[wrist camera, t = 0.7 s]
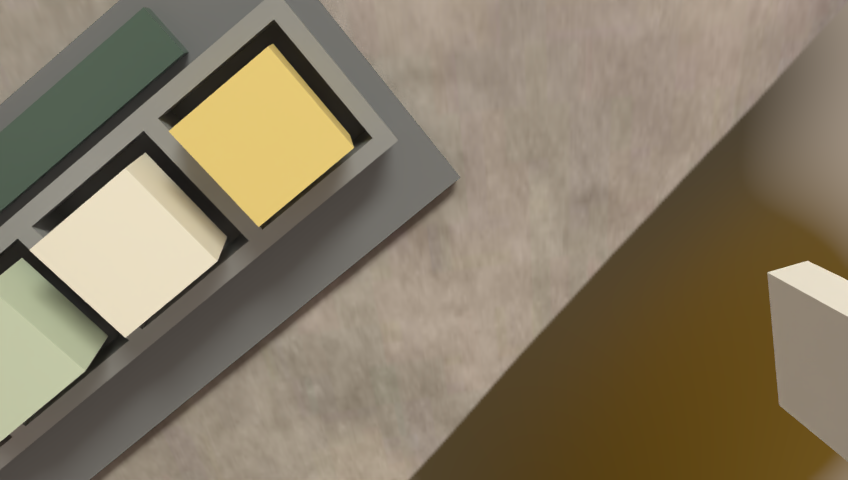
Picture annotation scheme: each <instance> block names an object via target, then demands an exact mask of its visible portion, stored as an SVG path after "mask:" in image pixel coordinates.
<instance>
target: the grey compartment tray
mask: <svg viewBox="0 0 848 480" xmlns="http://www.w3.org/2000/svg"><path fill="white" fill-rule="evenodd" d="M271 44H274V45H275V46H276V48H277V49H278V50H279V51H280V52H281V54H282V55H283V56H284V57H285V58H286V60H287V61H288V62H289V63H290V64H291V65H292V67H293V68H294V69H295V70H296V71H297V73H298V74H299V75H300V76H301V77H302V79H303V80H304V81H305V82H306V83H307V84H308V86H309V87H310V88H311V89H312V90H313V92H314V93H315V94H316V95H317V96H318V98H319V99H320V100H321V101H322V102H323V103H324V105H325V106H326V107H327V108H328V109H329V111H330V112H331V113H332V114H333V115H334V117H335V118H336V119H337V120H338V121H339V122H340V124H341V125H342V126H343V127H344V128H345V130H346V131H347V132H348V133H349V134H350V137H351V140H352V143H353V146H354V148H353V149H352V150H351V151H350V152H349V153H347V154H346V155H345V156H344V157H343V158H341V159H340V160H339V161H338V162H336V163H335V164H334V165H333V166H332V167H330V168H329V169H328V170H327V171H326V172H324V173H323V174H322V175H321V176H320V177H318V178H317V179H316V180H315V181H314V182H312V183H311V184H310V185H309V186H308V187H306V188H305V189H304V190H303V191H302V192H300V193H299V194H298V195H297V196H296V197H294V198H293V199H292V200H291V201H290V202H288V203H287V204H286V205H285V206H284V207H282V208H281V209H280V210H279V211H277V212H276V213H275V214H274V215H273V216H271V217H270V218H269V219H268V220H267V221H265V222H264V223H263V224H262V225H261V226H259V227H258V226H257V225H256V224H255V223H254V222H253V220H252V219H251V218H250V217H249V216H248V215H247V214H246V213H245V212H244V211H243V210H242V209H241V208H240V207H239V206H238V205H237V204H236V202H235V201H234V200H233V199H232V198H231V197H230V196H229V195H228V194H227V193H226V192H225V191H224V190H223V189H222V188H221V187H220V185H219V184H218V183H217V182H216V181H215V180H214V179H213V178H212V177H211V176H210V175H209V174H208V173H207V172H206V171H205V170H204V169H203V167H202V166H201V165H200V164H199V163H198V162H197V161H196V160H195V159H194V158H193V157H192V156H191V155H190V154H189V153H188V152H187V150H186V149H185V148H184V147H183V146H182V145H181V144H180V143H179V142H178V141H177V140H176V139H175V138H174V137H173V136H172V135H171V134H170V132H169V130H170V129H172V128H173V127H174V126H175V125H176V124H178V123H179V122H180V121H181V120H182V119H183V118H185V117H186V116H187V115H188V114H189V113H190V112H192V111H193V110H194V109H195V108H196V107H197V106H199V105H200V104H201V103H202V102H203V101H204V100H206V99H207V98H208V97H209V96H210V95H212V94H213V93H214V92H215V91H216V90H217V89H219V88H220V87H221V86H222V85H223V84H224V83H226V82H227V81H228V80H229V79H230V78H231V77H233V76H234V75H235V74H236V73H237V72H238V71H240V70H241V69H242V68H243V67H244V66H246V65H247V64H248V63H249V62H250V61H251V60H253V59H254V58H255V57H256V56H257V55H258V54H260V53H261V52H262V51H263V50H264V49H265V48H267V47H268V46H270V45H271ZM145 152H146V153H147V155H148V156H149V157H150V158H151V159H152V160H153V161H154V162H155V163H156V164H157V165H158V166H159V167H160V168H161V169H162V170H163V171H164V172H165V173H166V174H167V175H168V176H169V177H170V178H171V179H172V180H173V181H174V182H175V183H176V184H177V186H178V187H179V188H180V189H181V190H182V191H183V192H184V193H185V194H186V195H187V196H188V197H189V198H190V199H191V200H192V201H193V202H194V203H195V204H196V205H197V206H198V207H199V208H200V209H201V210H202V211H203V212H204V213H205V214H206V216H207V217H208V218H209V219H210V220H211V221H212V222H213V223H214V224H215V225H216V226H217V227H218V228H219V229H220V230H221V231H222V232H223V233H224V234H225V235H226V236H227V239H226V241H225V244H224V246H223V249H222V251H221V254H220V256H219V259H218V261H217V262H216V263H215V264H214V265H212V266H211V267H210V268H209V269H208V270H206V271H205V272H204V273H203V274H202V275H200V276H199V277H198V278H197V279H196V280H194V281H193V282H192V283H191V284H190V285H188V286H187V287H186V288H185V289H184V290H182V291H181V292H180V293H179V294H178V295H176V296H175V297H174V298H173V299H172V300H170V301H169V302H168V303H167V304H165V305H164V306H163V307H162V308H161V309H159V310H158V311H157V312H156V313H155V314H153V315H152V316H151V317H150V318H149V319H147V320H146V321H145V322H144V323H143V324H141V325H140V326H139V327H138V328H137V329H135V330H134V331H133V332H132V333H131V334H129V335H128V336H127V337H126V338H125V337H124V336H123V335H122V334H120V333H119V332H118V331H117V330H116V329H115V328H114V327H113V326H112V325H111V324H110V323H108V322H107V321H106V320H105V319H104V318H103V317H102V316H101V315H100V314H99V313H97V312H96V311H95V310H94V309H93V308H92V307H91V306H90V305H89V304H88V303H87V302H85V301H84V300H83V299H82V298H81V297H80V296H79V295H78V294H77V293H76V292H74V291H73V290H72V289H71V288H70V287H69V286H68V285H67V284H66V283H65V282H64V281H62V280H61V279H60V278H59V277H58V276H57V275H56V274H55V273H54V272H53V271H52V270H50V269H49V268H48V267H47V266H46V265H45V264H44V263H43V262H42V261H41V260H39V259H38V258H37V257H36V256H35V255H34V254H33V253H32V252H31V251H30V249H31V248H32V247H33V246H34V245H36V244H37V243H38V242H39V241H40V240H41V239H43V238H44V237H45V236H46V235H47V234H49V233H50V232H51V231H52V230H53V229H54V228H56V227H57V226H58V225H59V224H60V223H61V222H63V221H64V220H65V219H66V218H67V217H68V216H70V215H71V214H72V213H73V212H74V211H75V210H77V209H78V208H79V207H80V206H81V205H83V204H84V203H85V202H86V201H87V200H88V199H90V198H91V197H92V196H93V195H94V194H95V193H97V192H98V191H99V190H100V189H101V188H102V187H104V186H105V185H106V184H107V183H108V182H109V181H111V180H112V179H113V178H114V177H115V176H117V175H118V174H119V173H120V172H121V171H122V170H124V169H125V168H126V167H127V166H129V165H130V164H131V163H132V162H134V161H135V160H136V159H138V158H139V157H140V156H142V155H143V154H144V153H145ZM459 178H460V176H459V175H458V174H457V173H456V171H455V170H454V169H453V168H452V166H451V165H450V164H449V163H448V161H447V160H446V159H445V158H444V156H443V155H442V154H441V153H440V151H439V150H438V149H437V148H436V146H435V145H434V144H433V143H432V141H431V140H430V139H429V138H428V136H427V135H426V134H425V133H424V131H423V130H422V129H421V128H420V126H419V125H418V124H417V123H416V121H415V120H414V119H413V118H412V116H411V115H410V114H409V113H408V111H407V110H406V109H405V108H404V106H403V105H402V104H401V103H400V101H399V100H398V99H397V98H396V96H395V95H394V94H393V92H392V91H391V90H390V89H389V87H388V86H387V85H386V84H385V82H384V81H383V80H382V79H381V77H380V76H379V75H378V74H377V72H376V71H375V70H374V69H373V67H372V66H371V65H370V64H369V62H368V61H367V60H366V59H365V57H364V56H363V55H362V54H361V52H360V51H359V50H358V49H357V47H356V46H355V45H354V44H353V42H352V41H351V40H350V39H349V37H348V36H347V35H346V34H345V32H344V31H343V30H342V29H341V27H340V26H339V25H338V24H337V22H336V21H335V20H334V19H333V17H332V16H331V15H330V14H329V12H328V11H327V10H326V9H325V7H324V6H323V5H322V4H321V2H320V1H319V0H119V1H118V2H117V3H116V4H115V5H114V6H113V7H111V8H110V9H109V10H108V11H107V12H106V13H105V14H103V15H102V16H101V17H100V18H99V19H98V20H97V21H95V22H94V23H93V24H92V25H91V26H90V27H89V28H87V29H86V30H85V31H84V32H83V33H82V34H81V35H79V36H78V37H77V38H76V39H75V40H74V41H73V42H71V43H70V44H69V45H68V46H67V47H66V48H65V49H63V50H62V51H61V52H60V53H59V54H58V55H57V56H55V57H54V58H53V59H52V60H51V61H50V62H49V63H47V64H46V65H45V66H44V67H43V68H42V69H41V70H39V71H38V72H37V73H36V74H35V75H34V76H33V77H31V78H30V79H29V80H28V81H27V82H26V83H25V84H23V85H22V86H21V87H20V88H19V89H18V90H17V91H15V92H14V93H13V94H12V95H11V96H10V97H9V98H7V99H6V100H5V101H4V102H3V103H2V104H1V105H0V275H1V274H2V273H4V272H5V271H6V270H7V269H9V268H10V267H11V266H12V265H14V264H15V263H16V262H17V261H19V260H20V259H21V258H23V259H24V260H25V261H26V262H27V263H28V264H30V265H31V266H32V267H33V268H34V269H35V270H36V271H37V272H38V273H39V274H41V275H42V276H43V277H44V278H45V279H46V280H47V281H48V282H49V283H50V284H52V285H53V286H54V287H55V288H56V289H57V290H58V291H59V292H60V293H62V294H63V295H64V296H65V297H66V298H67V299H68V300H69V301H70V302H71V303H73V304H74V305H75V306H76V307H77V308H78V309H79V310H80V311H81V312H82V313H84V314H85V315H86V316H87V317H88V318H89V319H90V320H91V321H92V322H94V323H95V324H96V325H97V326H98V327H99V328H100V329H101V330H102V331H103V332H105V333H106V334H107V335H108V337H107V339H106V340H105V342H104V343H103V345H102V346H101V348H100V350H99V351H98V353H97V354H96V356H95V357H94V359H93V360H92V362H91V363H90V365H89V366H88V368H87V369H86V371H85V372H84V373H82V374H81V375H80V376H79V377H78V378H76V379H75V380H74V381H73V382H72V383H70V384H69V385H68V386H67V387H66V388H64V389H63V390H62V391H61V392H60V393H58V394H57V395H56V396H55V397H54V398H52V399H51V400H50V401H49V402H47V403H46V404H45V405H44V406H43V407H41V408H40V409H39V410H38V411H37V412H35V413H34V414H33V415H32V416H31V417H29V418H28V419H27V420H26V421H25V422H23V423H22V424H21V425H20V426H19V427H17V428H16V429H15V430H14V431H13V432H11V433H10V434H9V435H8V436H7V437H5V438H4V439H3V440H2V441H1V442H0V480H90V479H91V478H92V477H94V476H95V475H96V474H97V473H99V472H100V471H101V470H102V469H103V468H105V467H106V466H107V465H108V464H110V463H111V462H112V461H113V460H115V459H116V458H117V457H118V456H119V455H121V454H122V453H123V452H124V451H126V450H127V449H128V448H129V447H130V446H132V445H133V444H134V443H135V442H137V441H138V440H139V439H140V438H142V437H143V436H144V435H145V434H146V433H148V432H149V431H150V430H151V429H153V428H154V427H155V426H156V425H157V424H159V423H160V422H161V421H162V420H164V419H165V418H166V417H167V416H168V415H170V414H171V413H172V412H173V411H175V410H176V409H177V408H178V407H180V406H181V405H182V404H183V403H184V402H186V401H187V400H188V399H189V398H191V397H192V396H193V395H194V394H195V393H197V392H198V391H199V390H200V389H202V388H203V387H204V386H205V385H206V384H208V383H209V382H210V381H211V380H213V379H214V378H215V377H216V376H218V375H219V374H220V373H221V372H222V371H224V370H225V369H226V368H227V367H229V366H230V365H231V364H232V363H233V362H235V361H236V360H237V359H238V358H240V357H241V356H242V355H243V354H244V353H246V352H247V351H248V350H249V349H251V348H252V347H253V346H254V345H256V344H257V343H258V342H259V341H260V340H262V339H263V338H264V337H265V336H267V335H268V334H269V333H270V332H271V331H273V330H274V329H275V328H276V327H278V326H279V325H280V324H281V323H282V322H284V321H285V320H286V319H287V318H289V317H290V316H291V315H292V314H294V313H295V312H296V311H297V310H298V309H300V308H301V307H302V306H303V305H305V304H306V303H307V302H308V301H309V300H311V299H312V298H313V297H314V296H316V295H317V294H318V293H319V292H321V291H322V290H323V289H324V288H325V287H327V286H328V285H329V284H330V283H332V282H333V281H334V280H335V279H336V278H338V277H339V276H340V275H341V274H343V273H344V272H345V271H346V270H347V269H349V268H350V267H351V266H352V265H354V264H355V263H356V262H357V261H359V260H360V259H361V258H362V257H363V256H365V255H366V254H367V253H368V252H370V251H371V250H372V249H373V248H374V247H376V246H377V245H378V244H379V243H381V242H382V241H383V240H384V239H385V238H387V237H388V236H389V235H390V234H392V233H393V232H394V231H395V230H397V229H398V228H399V227H400V226H401V225H403V224H404V223H405V222H406V221H408V220H409V219H410V218H411V217H412V216H414V215H415V214H416V213H417V212H419V211H420V210H421V209H422V208H423V207H425V206H426V205H427V204H428V203H430V202H431V201H432V200H433V199H435V198H436V197H437V196H438V195H439V194H441V193H442V192H443V191H444V190H446V189H447V188H448V187H449V186H450V185H452V184H453V183H454V182H455V181H457V180H458V179H459Z"/></svg>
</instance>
